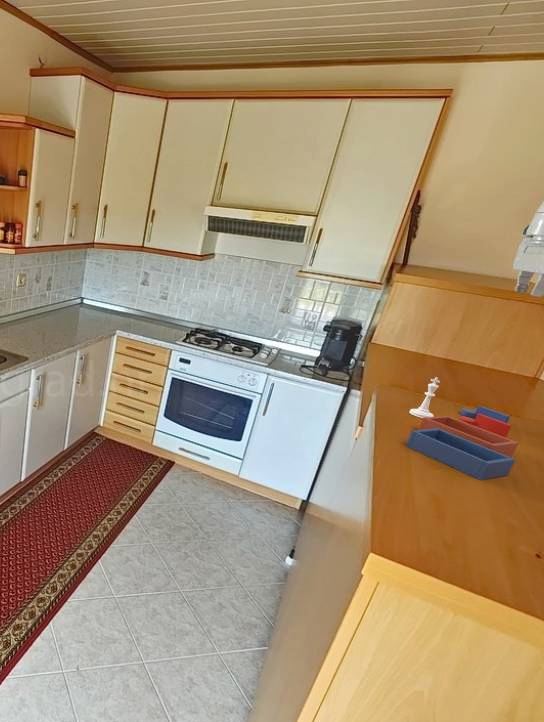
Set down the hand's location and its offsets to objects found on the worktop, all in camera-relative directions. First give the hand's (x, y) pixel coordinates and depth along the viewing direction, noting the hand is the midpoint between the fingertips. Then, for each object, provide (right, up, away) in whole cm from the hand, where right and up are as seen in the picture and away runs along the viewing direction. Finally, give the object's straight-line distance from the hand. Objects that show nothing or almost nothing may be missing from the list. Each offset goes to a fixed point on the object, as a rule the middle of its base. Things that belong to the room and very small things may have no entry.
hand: (527, 294), depth 108 cm
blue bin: (-27, -35, -12) cm, 46 cm away
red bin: (-17, -33, -3) cm, 37 cm away
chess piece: (-14, -28, +12) cm, 34 cm away
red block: (-4, -30, +8) cm, 32 cm away
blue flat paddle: (+2, -29, +15) cm, 33 cm away
